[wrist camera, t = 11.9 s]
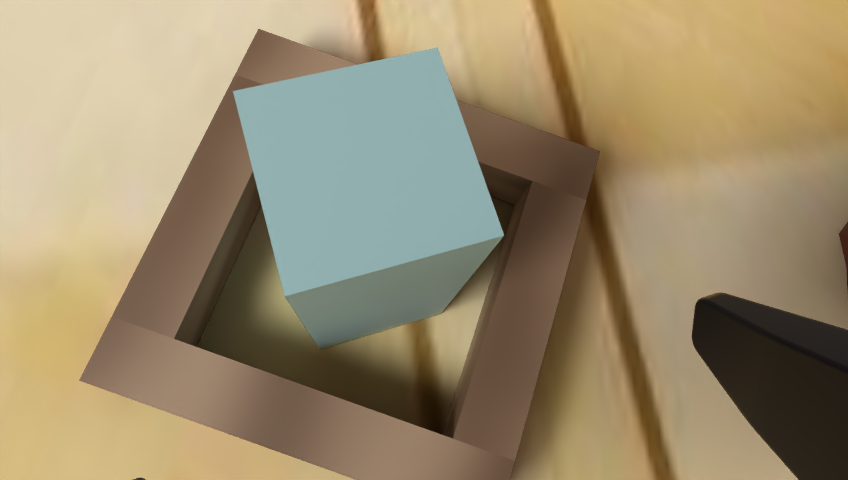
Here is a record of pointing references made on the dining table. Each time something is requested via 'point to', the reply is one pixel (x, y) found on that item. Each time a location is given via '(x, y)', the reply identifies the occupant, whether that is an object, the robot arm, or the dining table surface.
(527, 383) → the socket collar
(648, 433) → the dining table surface
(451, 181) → the peg
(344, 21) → the dining table surface
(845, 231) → the muffin
